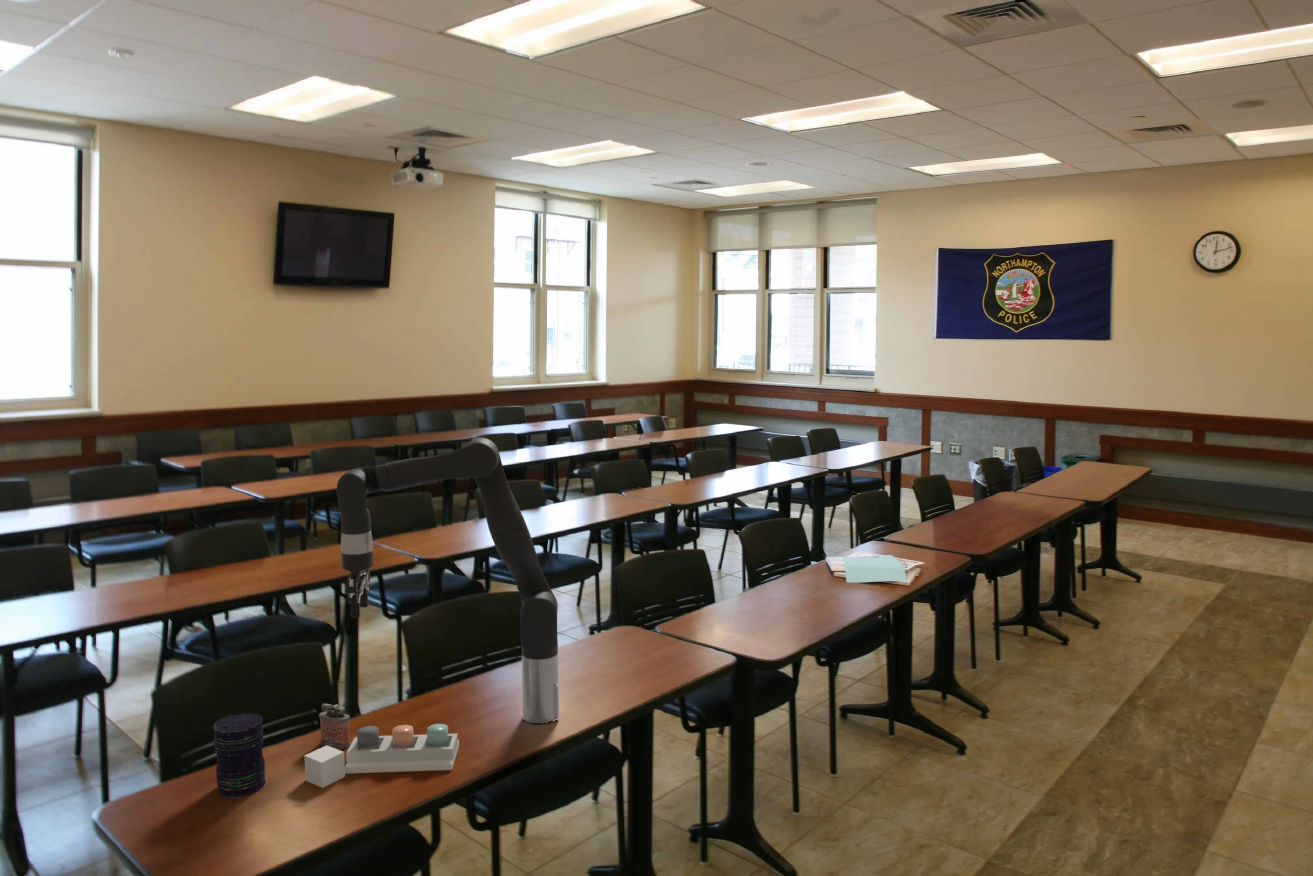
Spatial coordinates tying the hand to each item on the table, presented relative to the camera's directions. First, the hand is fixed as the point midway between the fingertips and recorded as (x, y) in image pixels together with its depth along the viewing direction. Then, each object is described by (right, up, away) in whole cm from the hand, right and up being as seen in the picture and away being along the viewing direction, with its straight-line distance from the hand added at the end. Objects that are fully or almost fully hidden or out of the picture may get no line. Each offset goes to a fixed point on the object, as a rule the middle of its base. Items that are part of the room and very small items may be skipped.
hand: (359, 612), depth 233 cm
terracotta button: (+16, -27, -16) cm, 35 cm away
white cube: (0, -33, -25) cm, 41 cm away
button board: (+16, -32, -16) cm, 39 cm away
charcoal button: (+8, -27, -17) cm, 33 cm away
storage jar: (-17, -33, -29) cm, 47 cm away
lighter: (-3, -31, -8) cm, 32 cm away
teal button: (+23, -27, -16) cm, 39 cm away
